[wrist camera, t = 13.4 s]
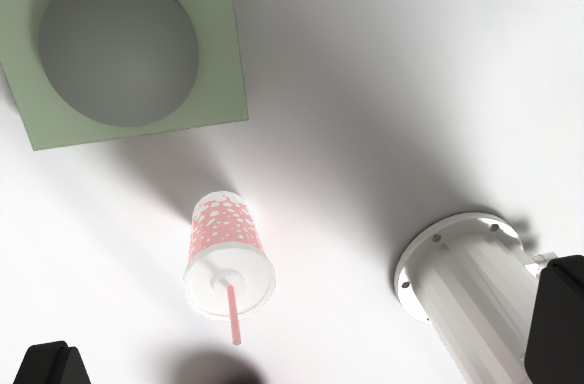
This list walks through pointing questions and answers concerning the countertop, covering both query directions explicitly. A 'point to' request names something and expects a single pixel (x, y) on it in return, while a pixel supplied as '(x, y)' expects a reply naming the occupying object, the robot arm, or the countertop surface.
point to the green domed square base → (120, 67)
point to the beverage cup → (226, 262)
